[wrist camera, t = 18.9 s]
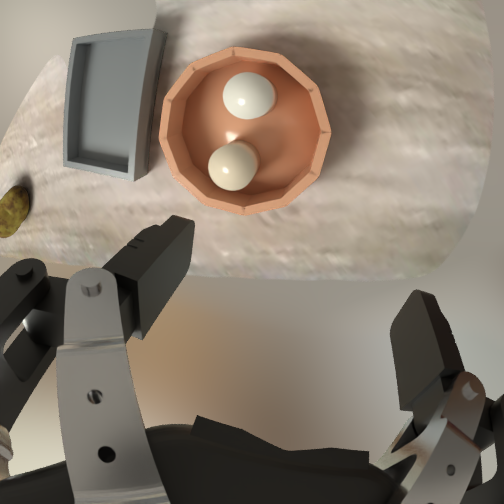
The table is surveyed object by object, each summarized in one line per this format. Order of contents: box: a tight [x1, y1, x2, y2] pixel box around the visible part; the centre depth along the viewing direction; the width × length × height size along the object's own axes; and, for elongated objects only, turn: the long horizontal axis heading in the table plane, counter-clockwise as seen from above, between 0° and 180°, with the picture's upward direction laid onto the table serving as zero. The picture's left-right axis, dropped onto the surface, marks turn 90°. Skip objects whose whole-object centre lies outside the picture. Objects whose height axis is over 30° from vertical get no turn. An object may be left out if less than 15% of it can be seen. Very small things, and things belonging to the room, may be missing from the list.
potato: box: [0, 186, 29, 238], centre depth 44 cm, size 8×13×8 cm, turn 111°
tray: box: [63, 29, 167, 182], centre depth 31 cm, size 20×14×4 cm
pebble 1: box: [223, 72, 278, 119], centre depth 27 cm, size 5×5×4 cm
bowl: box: [159, 46, 332, 216], centre depth 30 cm, size 18×18×5 cm
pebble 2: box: [208, 140, 261, 191], centre depth 31 cm, size 5×5×4 cm
